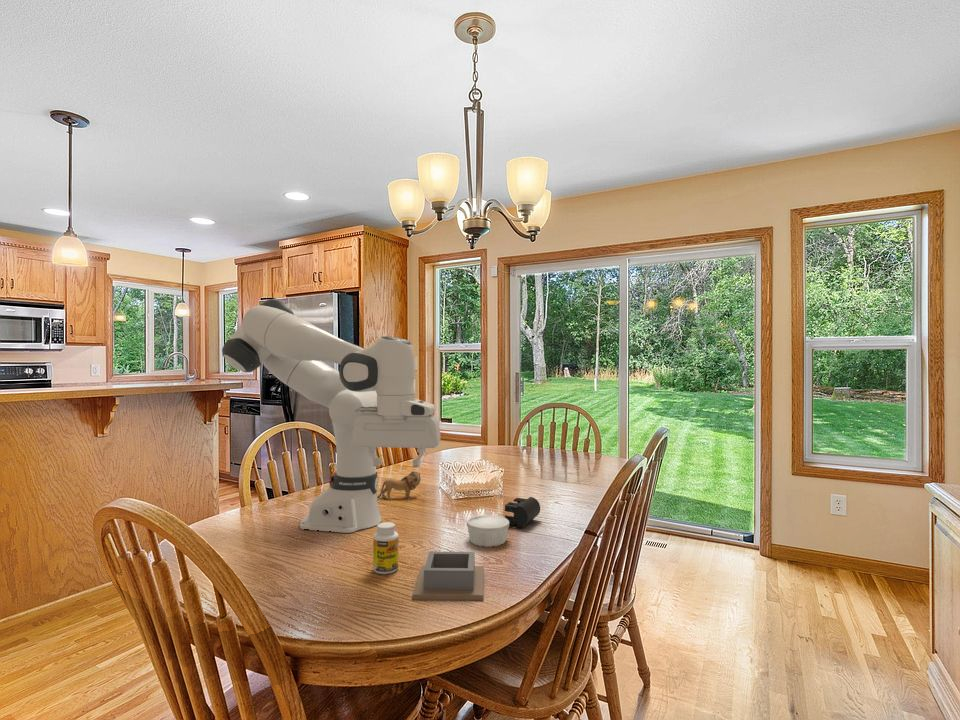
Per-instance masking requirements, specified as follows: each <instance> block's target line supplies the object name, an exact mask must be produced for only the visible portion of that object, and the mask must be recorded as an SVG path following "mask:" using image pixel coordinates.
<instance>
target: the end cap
mask: <svg viewBox="0 0 960 720" xmlns="http://www.w3.org/2000/svg"><path fill="white" fill-rule="evenodd" d="M504 512H507V513H513V516H512V515H504V518H506V519H508V520H509V526H510V527H509V528H512V527H516V528H515V529H521V528H523V527H524V526H526V525H527V524H529V523H530V522H531V521H533V520H534V519H535V518H536V517H538V516H539V515H540V512H541V504H540V502H539V501H538V500H537V498H535V497H533V496H530V497H528V498H523V497H516V498H514V499H513V502H509V501H508V502H507V503H506V504H505V505H504Z"/></svg>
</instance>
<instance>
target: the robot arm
mask: <svg viewBox="0 0 960 720" xmlns="http://www.w3.org/2000/svg"><path fill="white" fill-rule="evenodd" d="M221 352H222V357H223V358H224V359H225V361H226V362H227V363H228V364H229V365H230V366H231V367H232V368H233V369H235V370H238V371H240V372H244V373H252V372H253V371H256V370H257V369H259V367H261V365H262V364H263V367H265V368H266V370H267V371H269V373H271V374H272V375H273V376H274V377H275V378H277V379H278V380H279V381H280V382H282V383H283V384H284V385H286V386H288V387H289V388H290V389H292V390H294V391H295V392H297V393H298V394H300V395H301V396H303V397H304V398H305V399H308V400H309V401H311V402H312V403H313V402H314V403H316V404H319V405H321V406H324V407H326V408H328V414H329V417H330V419H331V421H332V422H331V423H332V429H333V434H334V439H335V448H336V471H334V472H333V473H332V474H331V476H330V477H329V478H328V484H329V486H330V487H328V488H327V489H326V490H325V491H323V492H322V493H321V494H319V495H318V496H317V497H316V498H315V499H314V500H313V501H312V502H311V504H310V507H309V510H308V514H307V515H306V516H304V518H302V519H301V521H300V524H299V528H300V529H301V530H304V529H309V530H308V531H317V530H319V531H321V532H329V531H331V532H333V533H342V534H343V533H344V534H347V533H348V534H349V533H354V532H357V531H360V530H364V529H369V528H372V527H376V526H377V525H378V524H380V523H382V516H381V512H380V508H379V502H378V498H377V497H378V495H377V492H378V487H379V485H378V484H379V479H378V472H377V467H381V466H382V457H378V455H377V448H397V449H398V448H399V449H400V448H403V449H404V448H407V449H408V448H411V449H417V450H416V452H417V453H418V455H417V456H416V457H417V458H413V459H412V468H420V467H421V465H422V464H421V459H422V458H423V456H424V455H425V452H426V449H436V448H437V447H438V446H439V445H440V444H441V430H440V429H441V428H440V422H439V419H438V418H437V417H438V416H436V415H435V413H436V405H435V404H433V403H431V402H427V401H424V400H421V399H418V398H416V389H415V378H416V360H415V359H416V357H415V350H414V346H413V344H412V342H410V340H408V339H405V338H401V337H395V336H394V337H393V336H388V335H387V336H386V335H385V336H381V337H380V338H378V339H377V340H376V341H375V342H374V343H372V344H371V345H368V346H367V347H362V346H360V345H357V344H354V343H352V342H349V341H348V340H345V339H342V338H340V337H338V336H336V335H333V334H331V333H329V332H327V331H325V330H323V329H322V328H320V327H318V326H316V325H314V324H312V323H311V322H308V321H307V320H305V319H303V318H301V317H299V316H297V315H295V313H294V312H293V311H292V309H291V308H290V307H289V306H288V305H287V304H285V303H283V302H282V301H280V300H279V299H273V298H272V299H271V298H270V299H267V300H266V301H264V302H262V303H261V304H260V305H259V304H258V305H255V306H253V307H250V308H249V309H248V310H247V311H246V312H245V313H244V315H243V317H242V320H241V324H240V325H239V326H238V327H237V329H236V330H235V331H234V333H233V334H232V335H231V337H230V338H229V339H227V340H226V341H225V343H224V344H223V346H222V349H221ZM325 362H329V363H334V364H338V365H339V369H338V370H336V369H335V368H333V367H332V366H330V365H329V364H327V363H325ZM319 531H318V532H319ZM331 532H330V533H331Z"/></svg>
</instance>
